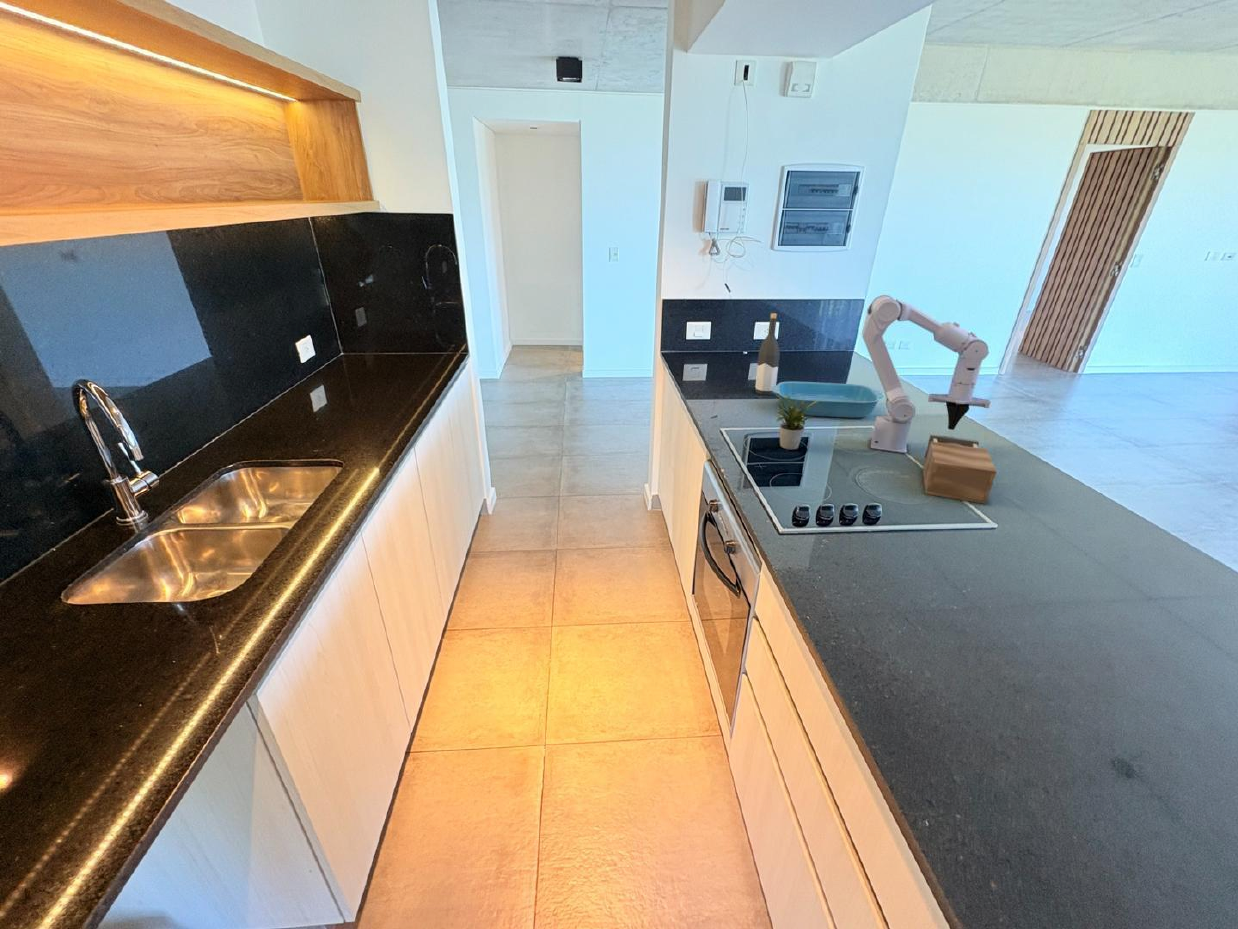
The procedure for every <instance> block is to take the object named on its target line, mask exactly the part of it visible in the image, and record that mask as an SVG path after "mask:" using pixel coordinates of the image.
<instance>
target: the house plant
mask: <svg viewBox="0 0 1238 929" xmlns="http://www.w3.org/2000/svg"><path fill="white" fill-rule="evenodd" d="M772 395H776V396H777V397H778V399H779V398H780V399H781V397H780V396H778V394H774V393H773V394H772ZM786 397H787V400H788V404H789V413H788V411H787V409H786V407H785V404H784V402H783V400H782V399H781V401H782V403H781V402H780V401H779V400H776V402H778V403H779V404H778V403H775V402H774V403H772V404H775V405H777V406H778V407H779V408H780V409H778V410H777V411H775V412H776V413H777V414H778V415H780V416H778V418H777V419H776V423H777V422H779V421H782V423H780V424H779V446H780V447H781V448H783V449H786V450H798V448H799V446H800V443H801V440H802V437H803V434H804V431H805V425H806V422H805V421H806V420H808V419H813V416H812V415H802V414H803V413H804V412H805V411H806V410H807V409H808V408H809V407H811V406H812V405H813V404H814V403H816V402H818V401H815V402H813V403H811V404H810V405H808V406H807V407H806V408H804V409H802V410H801V408H802V406H803V404H804V400H805V398H804V399H802V400H803V401H802V403H801V405H800V407H799V409H796V406H797V404H798V403H797V404H796V403H795V404H796V405H795V406H794V409H793V407H792V403H791V401H790V397H789V396H788V394H787V396H786ZM798 397H799V396H798ZM797 399H798V398H797ZM796 401H797V400H796ZM799 402H800V401H799ZM780 403H781V404H782V406H783V407H784V409H785V410H786V411H785V410H784V409H783V408H782V406H781V404H780ZM800 410H801V411H800ZM784 411H785V412H784Z"/></svg>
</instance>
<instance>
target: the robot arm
mask: <svg viewBox="0 0 1238 929" xmlns="http://www.w3.org/2000/svg"><path fill="white" fill-rule="evenodd" d="M896 320H897V321H898V322H906V321H907V322H910V323H913V324H915V325H917V326H918V327H920V328H922V329H924V330H926V331H927V332H929V333H932V335H933V340H934V341H935V342H936V343H937V344H939V345H940V346H943V347H944V348H947V349H948V350H950V351H952V352H953V353H957V354H958V357H957V361H956V364H955V366H954V370H953V375H952V379H951V382H950V385H949V389H948V392H947V393H929V395H928V398H927V401H928V403H934V402H935V403H943V404H945V405H946V406H945V407H946V410H947V417H948V422H947V429H948V430H951V431H955V429H956V427H957V425H958V423H959V422H960V421H961V419H962V418H963V417H964V416H965V415H966V414H967V413H968V412H969V410H970V406H971V407H978V408H984V409H990V406H991V400H990V399H986V398H982V397H981V398H980V397H976V396H975V397H974V396H973V395H974V393H975V392H974V391H975V388H976V384H977V381H978V377H979V374H980V371H981V367H982V363H983V361H984V360H985V359H986V358H987V357H988V355H989V354H990V351H989V346H988V344H987V343H986V341H984V340H983V339H981V338H979V337H978V336H977V335H976V333H974V332H973V331H970V332H968V331H967V330H965V329H963V328H962V327H960V326H961V324H960V323H958V322H957V321H954V322H951V321H945V322H939V321H938V320H937V319H934V318H933V317H931V316H930V315H928V314H927V313H925V312H923V311H922V310H920V309H918V308H917V307H915V306H913V305H912V304H910V303H907V302H905V301H903V300H900V299H898V298H896V299H895V298H893V297H892V296H891V295H887V294H882V295H879V296H876V297H875V298H874V299H873V300H872V301H871V303H870V305H869V306H868V307H867V309H866V315H865V320H864V324H863V328H862V331H861V337H862V339H863V342H864V344H865V346H866V349H867V351H868V355H869V356H870V359H871V361H872V365H873V366H874V369H875V372H876V374H877V376H878V379H879V381H880V384H881V386H882V389H883V391H884V394H885V397H886V400H885V406H886V409H887V411H886V412H885V413H884V415H883V416H882V415H881V416H880V415H877V416H876V417H875V422H874V425H873V430H872V433H871V436H870V449H875V450H881V451H888V452H894V453H900V454H907V452H908V450H907V448H908V447H907V441H908V436H909V432H910V428H911V424H912V420H913V418H914V417H915V415H916V411H917V410H916V406H915V405H914V403H913V402H912V401H911V399H910V396H909V395H908V394H907V393H906V392H905V390H904V388H903V385H902V382H901V381H900V378H899V375H898V373H897V370H896V367H895V365H894V363H893V360H892V358H891V355H890V353H889V350H888V347H887V345H886V342H885V340H884V337H883V336H884V334H885V333H886V332H887V329H888V328H889V327H890V326H891V325H892V324H893V323H895V321H896Z"/></svg>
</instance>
